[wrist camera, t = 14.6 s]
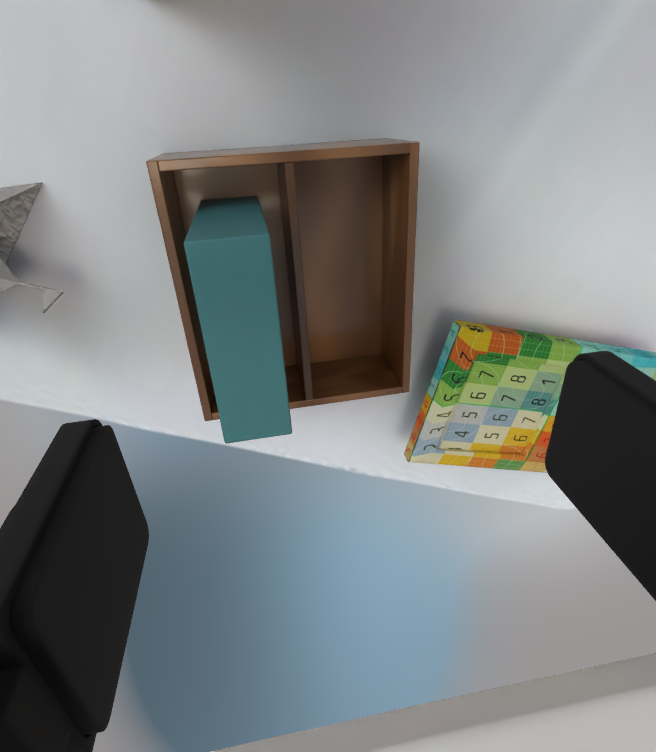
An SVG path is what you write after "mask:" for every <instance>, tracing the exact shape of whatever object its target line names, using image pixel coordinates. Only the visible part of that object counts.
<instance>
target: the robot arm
mask: <svg viewBox="0 0 656 752" xmlns="http://www.w3.org/2000/svg"><path fill="white" fill-rule="evenodd" d="M545 467H546V470H547V473H548V474H549V476H550V477H551V478H552V480H553V481H554V482H555V483H556V484H557V485H558V487H559V488H560V489H561V490H562V491H563V493H564V494H565V495H566V496H567V497H568V498H569V500H570V501H571V502H572V503H573V504H574V505H575V507H576V508H577V509H578V510H579V511H580V512H581V514H582V515H583V516H584V517H585V518H586V520H587V521H588V522H589V523H590V524H591V525H592V527H593V528H594V529H595V530H596V531H597V532H598V534H599V535H600V536H601V537H602V538H603V539H604V541H605V542H606V543H607V544H608V545H609V547H610V548H611V549H612V550H613V551H614V552H615V553H616V555H617V556H618V557H619V558H620V559H621V561H622V562H623V563H624V564H625V565H626V566H627V568H628V569H629V570H630V571H631V572H632V574H633V575H634V576H635V577H636V578H637V579H638V580H639V582H640V583H641V584H642V585H643V587H644V588H645V589H646V590H647V591H648V592H649V594H650V595H651V596H652V597H653V598H654V599H655V600H656V380H654V379H652V378H651V377H649V376H648V375H646V374H645V373H643V372H642V371H640V370H638V369H637V368H635V367H634V366H632V365H631V364H629V363H628V362H626V361H624V360H623V359H621V358H620V357H618V356H617V355H615V354H614V353H612V352H610V351H598V352H590V353H583V354H579V355H577V356H576V357H575V358H574V359H573V362H571V363H569V365H568V366H567V368H566V372H565V376H564V381H563V385H562V389H561V393H560V398H559V402H558V406H557V410H556V415H555V419H554V423H553V427H552V432H551V436H550V440H549V444H548V448H547V453H546V457H545ZM148 540H149V531H148V525H147V522H146V519H145V516H144V514H143V511H142V508H141V505H140V502H139V500H138V497H137V494H136V492H135V489H134V486H133V483H132V481H131V478H130V475H129V472H128V470H127V467H126V464H125V461H124V459H123V456H122V453H121V450H120V448H119V445H118V442H117V439H116V437H115V434H114V431H113V429H112V428H111V426H109V425H106V426H102V424H101V423H100V421H99V420H96V419H94V420H87V421H79V422H72V423H66V424H63V425H62V426H61V427H60V429H59V431H58V432H57V434H56V436H55V438H54V439H53V441H52V443H51V444H50V446H49V448H48V450H47V451H46V453H45V455H44V457H43V458H42V460H41V462H40V463H39V465H38V467H37V469H36V470H35V472H34V474H33V476H32V477H31V479H30V481H29V483H28V484H27V486H26V488H25V489H24V491H23V493H22V495H21V497H20V498H19V500H18V502H17V503H16V505H15V506H14V507H13V508H12V510H11V511H10V513H9V515H8V516H7V518H6V520H5V521H4V523H3V525H2V526H1V528H0V752H92V751H93V746H94V742H95V737H96V733H98V732H102V731H104V730H105V729H106V728H107V725H108V723H109V720H110V716H111V711H112V707H113V702H114V698H115V693H116V688H117V684H118V679H119V675H120V669H121V665H122V661H123V656H124V651H125V647H126V642H127V638H128V633H129V629H130V624H131V619H132V615H133V610H134V606H135V601H136V596H137V592H138V587H139V583H140V578H141V574H142V569H143V564H144V560H145V555H146V551H147V546H148ZM211 752H656V653H655V654H651V655H646V656H641V657H637V658H632V659H627V660H622V661H617V662H613V663H608V664H603V665H599V666H594V667H590V668H585V669H580V670H576V671H571V672H567V673H562V674H558V675H553V676H548V677H544V678H539V679H535V680H530V681H525V682H521V683H517V684H512V685H507V686H502V687H498V688H493V689H489V690H485V691H480V692H475V693H471V694H466V695H461V696H457V697H452V698H448V699H443V700H439V701H434V702H429V703H425V704H421V705H416V706H411V707H407V708H402V709H398V710H394V711H389V712H384V713H380V714H376V715H371V716H367V717H362V718H358V719H353V720H349V721H345V722H340V723H335V724H331V725H326V726H322V727H318V728H313V729H308V730H304V731H299V732H295V733H291V734H287V735H282V736H277V737H273V738H268V739H264V740H259V741H255V742H250V743H246V744H241V745H237V746H233V747H228V748H224V749H219V750H215V751H211Z"/></svg>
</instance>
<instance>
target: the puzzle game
mask: <svg viewBox="0 0 656 752" xmlns="http://www.w3.org/2000/svg"><path fill="white" fill-rule="evenodd" d="M598 351H610V352H612V353H614V354H615V355H617V356H618V357H620V358H621V359H623V360H624V361H626V362H628V363H629V364H631V365H632V366H634V367H635V368H637V369H638V370H640V371H642V372H643V373H645V374H646V375H648V376H649V377H651V378H652V379H654V380H656V353H655V352H649V351H643V350H637V349H631V348H625V347H619V346H613V345H607V344H600V343H594V342H588V341H582V340H576V339H570V338H564V337H558V336H551V335H545V334H539V333H533V332H527V331H521V330H515V329H509V328H502V327H496V326H490V325H484V324H478V323H472V322H466V321H458V320H454V321H453V323H452V326H451V329H450V331H449V334H448V337H447V339H446V342H445V345H444V347H443V350H442V353H441V356H440V358H439V361H438V364H437V366H436V369H435V372H434V374H433V377H432V380H431V382H430V385H429V388H428V391H427V393H426V396H425V399H424V401H423V404H422V407H421V409H420V412H419V415H418V417H417V420H416V423H415V426H414V428H413V431H412V434H411V436H410V439H409V442H408V444H407V447H406V450H405V452H404V455H405V457H406V459H407V461H408V462H417V463H431V464H445V465H458V466H470V467H483V468H495V469H508V470H520V471H533V472H545V473H547V470H546V467H545V457H546V453H547V448H548V444H549V440H550V436H551V432H552V427H553V423H554V419H555V415H556V410H557V406H558V402H559V398H560V393H561V389H562V385H563V381H564V376H565V372H566V368H567V366H568V365H569V363H571V362H573V359H574V358H575V357H576V356H577V355H579V354H583V353H590V352H598Z"/></svg>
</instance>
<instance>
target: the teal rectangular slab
mask: <svg viewBox="0 0 656 752" xmlns="http://www.w3.org/2000/svg"><path fill="white" fill-rule="evenodd" d="M184 247H185V252H186V257H187V262H188V267H189V271H190V276H191V281H192V286H193V291H194V296H195V300H196V305H197V310H198V315H199V320H200V325H201V330H202V334H203V339H204V344H205V349H206V354H207V359H208V364H209V368H210V373H211V378H212V383H213V388H214V393H215V397H216V402H217V407H218V412H219V417H220V422H221V427H222V431H223V436H224V441H225V443H233V442H239V441H246V440H253V439H259V438H266V437H273V436H279V435H286V434H291V433H292V426H291V418H290V409H289V400H288V391H287V382H286V373H285V365H284V356H283V347H282V338H281V329H280V320H279V312H278V303H277V294H276V285H275V276H274V267H273V258H272V250H271V241H270V234H269V231H268V228H267V225H266V222H265V219H264V215H263V212H262V209H261V206H260V203H259V200H258V197H257V196H245V197H233V198H221V199H208V200H201V201H200V204H199V206H198V209H197V211H196V214H195V216H194V219H193V221H192V224H191V226H190V229H189V231H188V234H187V236H186V239H185V241H184Z"/></svg>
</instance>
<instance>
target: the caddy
mask: <svg viewBox="0 0 656 752" xmlns="http://www.w3.org/2000/svg"><path fill="white" fill-rule="evenodd" d="M146 163H147V167H148V172H149V176H150V180H151V185H152V189H153V194H154V198H155V203H156V207H157V211H158V216H159V220H160V225H161V229H162V234H163V238H164V242H165V247H166V251H167V256H168V260H169V264H170V269H171V273H172V278H173V282H174V287H175V291H176V295H177V300H178V304H179V309H180V313H181V318H182V322H183V326H184V331H185V335H186V340H187V344H188V349H189V353H190V357H191V362H192V366H193V371H194V375H195V379H196V384H197V388H198V393H199V397H200V402H201V406H202V410H203V415H204V419H205V421H209V420H216V419H220V417H219V412H218V407H217V402H216V397H215V393H214V388H213V383H212V378H211V373H210V368H209V364H208V359H207V354H206V349H205V344H204V339H203V334H202V330H201V325H200V320H199V315H198V310H197V305H196V300H195V296H194V291H193V286H192V281H191V276H190V271H189V267H188V262H187V257H186V252H185V247H184V241H185V239H186V236H187V234H188V231H189V229H190V226H191V224H192V221H193V219H194V216H195V214H196V211H197V209H198V206H199V204H200V201H201V200H208V199H221V198H233V197H245V196H257V197H258V200H259V203H260V206H261V209H262V212H263V215H264V219H265V222H266V225H267V228H268V231H269V234H270V241H271V250H272V258H273V267H274V276H275V285H276V294H277V303H278V312H279V320H280V329H281V338H282V347H283V356H284V365H285V373H286V382H287V391H288V400H289V409H293V408H300V407H307V406H314V405H321V404H328V403H335V402H342V401H349V400H356V399H363V398H370V397H377V396H384V395H391V394H398V393H405V392H409V382H410V358H411V334H412V310H413V286H414V261H415V237H416V213H417V189H418V165H419V142H414V141H406V140H397V139H388V138H385V139H371V140H356V141H342V142H327V143H312V144H298V145H283V146H268V147H254V148H239V149H224V150H210V151H195V152H181V153H166V154H161V155H159V156H157V157H155V158H153V159H150V160H148V161H147V162H146Z"/></svg>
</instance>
